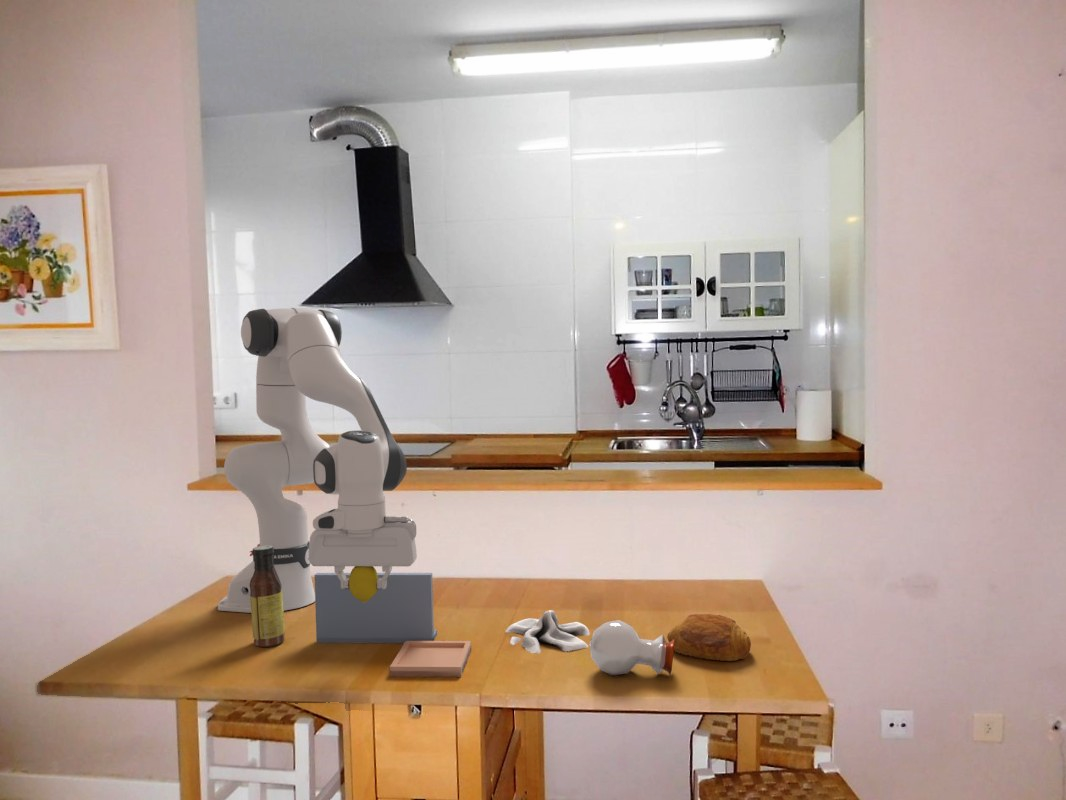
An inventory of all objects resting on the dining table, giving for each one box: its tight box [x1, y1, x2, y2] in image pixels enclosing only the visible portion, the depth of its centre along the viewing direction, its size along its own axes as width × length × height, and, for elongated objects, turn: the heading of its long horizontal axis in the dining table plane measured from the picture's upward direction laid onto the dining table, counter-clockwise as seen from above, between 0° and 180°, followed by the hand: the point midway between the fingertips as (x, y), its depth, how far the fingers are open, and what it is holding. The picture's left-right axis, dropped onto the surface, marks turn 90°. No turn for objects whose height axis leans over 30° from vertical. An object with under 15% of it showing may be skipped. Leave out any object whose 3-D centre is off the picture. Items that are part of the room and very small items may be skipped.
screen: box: [314, 572, 438, 644], centre depth 158 cm, size 24×5×14 cm, turn 86°
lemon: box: [349, 566, 378, 603], centre depth 146 cm, size 6×6×8 cm
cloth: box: [505, 609, 591, 654], centre depth 156 cm, size 22×19×6 cm
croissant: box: [666, 613, 752, 662], centre depth 148 cm, size 14×16×8 cm
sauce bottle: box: [250, 545, 286, 648], centre depth 156 cm, size 7×6×20 cm
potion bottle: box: [588, 619, 675, 676], centre depth 138 cm, size 9×10×15 cm
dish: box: [389, 640, 472, 678], centre depth 145 cm, size 13×13×2 cm
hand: (363, 588), depth 146 cm, fingers closed on lemon, 6 cm apart
